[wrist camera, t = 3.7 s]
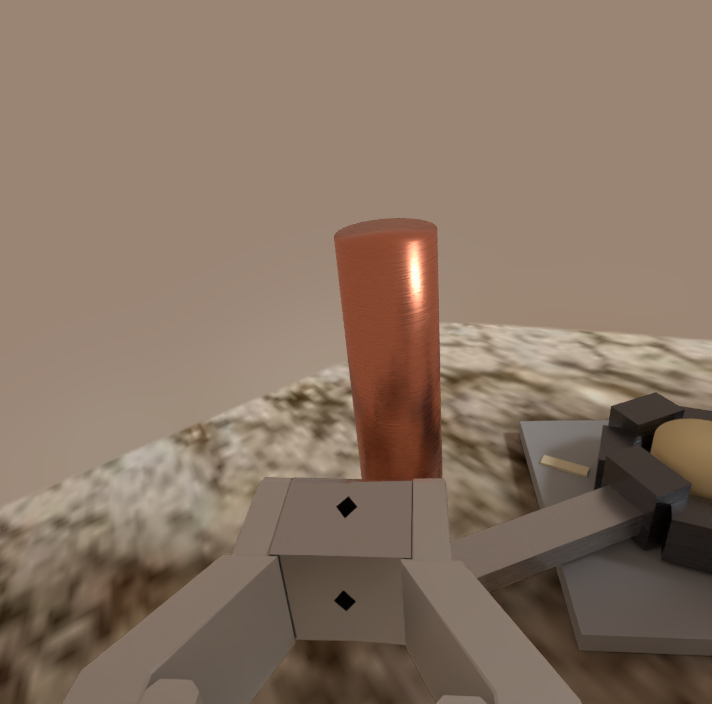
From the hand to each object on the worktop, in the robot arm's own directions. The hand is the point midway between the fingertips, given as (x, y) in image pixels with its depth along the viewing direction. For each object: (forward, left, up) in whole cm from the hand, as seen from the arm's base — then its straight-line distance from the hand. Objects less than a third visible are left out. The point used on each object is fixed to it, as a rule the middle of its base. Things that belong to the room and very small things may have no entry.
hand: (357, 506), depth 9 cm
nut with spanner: (-8, -11, -13) cm, 19 cm away
